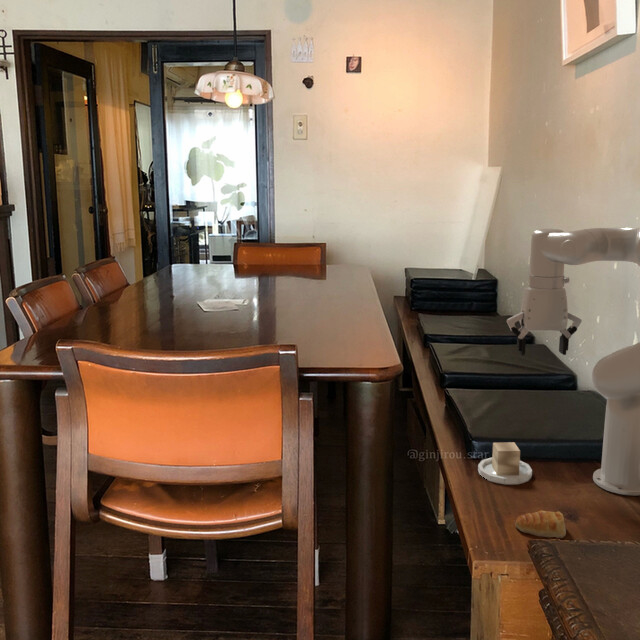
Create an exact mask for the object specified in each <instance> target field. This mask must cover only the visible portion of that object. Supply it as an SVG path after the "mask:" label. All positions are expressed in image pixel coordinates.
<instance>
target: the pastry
mask: <svg viewBox="0 0 640 640" xmlns="http://www.w3.org/2000/svg"><path fill="white" fill-rule="evenodd" d="M514 525H515V528H516V529H518V530H519V531H520V532H522V533H525V534H529V535H533V536H536V537H545V538H551V537H556V539H558V538H559V539H561V538H564V537H565V536H566V534H567V529H566V524H565V517H564V514H563V513H562V512H560V511H559V510H558V511H556V512H555V511H548V510H543V509H542V510H538V511H535V512H532V513H530V512H527V513H525V514H521V515H518V516H517V517H516V520H515V523H514Z"/></svg>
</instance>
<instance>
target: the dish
mask: <svg viewBox="0 0 640 640" xmlns="http://www.w3.org/2000/svg"><path fill="white" fill-rule="evenodd" d="M477 471H478V474H479V475H481V476H482V477H481V476H480V477H481V478H483V477H484V478H485V480H486V479H487V480H486V481H489V482H491V483H496V484H499V485H500V484H501V485H509V486H510V485H520V484H525V483H526V482H529V481H531V479H532V476H533V469H532V468H531V466H530V464H529V463H526V462H524V461H522V460H520V465H519V475H502V476H497V474H496V473H495V471H494V469H493V467H492V457H489V458H483V459H481V460H480V462H479V463H478V465H477ZM484 478H483V479H484Z"/></svg>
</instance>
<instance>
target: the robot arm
mask: <svg viewBox="0 0 640 640" xmlns="http://www.w3.org/2000/svg"><path fill="white" fill-rule="evenodd" d="M530 242H531V243H530V263H529V279H528V286H527V287H525V288H524V291H523V295H522V300H521V308H520V312H519V313H517V314H515V315H512V316H511V317H509V318H507V319H506V323H507V325H508V327H509V330H510V331H511V332H512V333H513V334H514V335H515V336H516V337H517V338H516V351H518V354H519V355H521V356H525V355H526V342H527V340H526V338H525V337H526V335H527V334H528V333H530V332H559V333H560V334H561V335H560V336H559V339H558V340H559V342H558V343H559V345H558V352H559V353H560V354H561V355H563V356H566V355H567V352H568V351H569V344H570V343H569V339H571V337H572V335H574V334H575V333H576V332H577V331H578V328H579V327H580V325H581V324H582V319H581V318H579V317H578V316H576V315H574V314H572V313H569V312H568V311H569V310H568V299H567V298H568V297H567V291H566V288H565V284H569V283H570V277H566V276H565V275H564V274H565V265H568V266H580V265H584V264H587V263H591V262H603V261H604V262H607V261H608V262H609V261H610V262H630V263H633V264H636V265H637V266H639V267H640V226H639V227H593V228H592V227H591V228H585V229H584V228H583V229H579V230H578V229H577V230H572V231H564V230H562V229H557V228H556V229H555V228H539V229H536V230H534V231H533V232H532V234H531V241H530ZM569 320H570V321H571V322H572V324H571V325H570V326H569V327H568V328H567V326H568V321H569ZM518 321H519V324H520V326H521V327H520V328H517V327H516V325H515V324H516V323H517V322H518ZM591 381H592V382H591V383H592V384H593V387H594V389H595V390H596V391H597V393H598V394H600V395H601V396H602V397H604V398H607V400H606V405H605V415H604V426H603V427H604V428H603V429H604V430H603V440H602V441H603V442H602V452H601V454H602V455H601V465H600V468H598V469H596V470H595V471H593V475H592V479H593V482H594V484H596V485H597V486H598V487H600V488H601V489H602V490H605V491H608V492H610V493H615V494H617V495H622V496H633V497H634V496H640V341H639V342H636V343H635V344H632V345H628V346H625V347H622V348H620V349H617V350H615V351H614V352H612V353H610V354H607V355H605V356H603V357H602V358H601V359H599V360H598V361H597V362H596V363H595V365H594V367H593V369H592V372H591Z"/></svg>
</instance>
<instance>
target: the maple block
mask: <svg viewBox="0 0 640 640" xmlns="http://www.w3.org/2000/svg"><path fill="white" fill-rule="evenodd" d="M520 461H521V450H520V448H519V447H518V446H517V444H516V442H513V441H512V442H511V441H508V442H507V441H506V442H504V441H503V442H493V443H492V467H493V469H494V471H495V473H496V474H497V476H502V475H519V465H520Z"/></svg>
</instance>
